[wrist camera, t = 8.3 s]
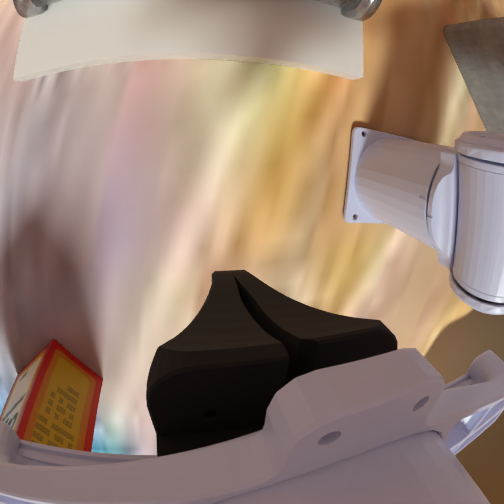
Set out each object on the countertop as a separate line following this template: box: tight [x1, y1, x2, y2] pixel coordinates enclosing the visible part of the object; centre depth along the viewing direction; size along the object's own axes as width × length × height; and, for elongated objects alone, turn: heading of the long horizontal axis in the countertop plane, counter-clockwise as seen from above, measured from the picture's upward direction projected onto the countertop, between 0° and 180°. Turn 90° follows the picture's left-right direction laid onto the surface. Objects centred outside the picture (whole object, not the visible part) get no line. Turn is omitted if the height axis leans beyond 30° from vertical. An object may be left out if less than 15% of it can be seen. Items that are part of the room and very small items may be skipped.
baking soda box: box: [0, 339, 103, 452], centre depth 16 cm, size 10×6×16 cm
